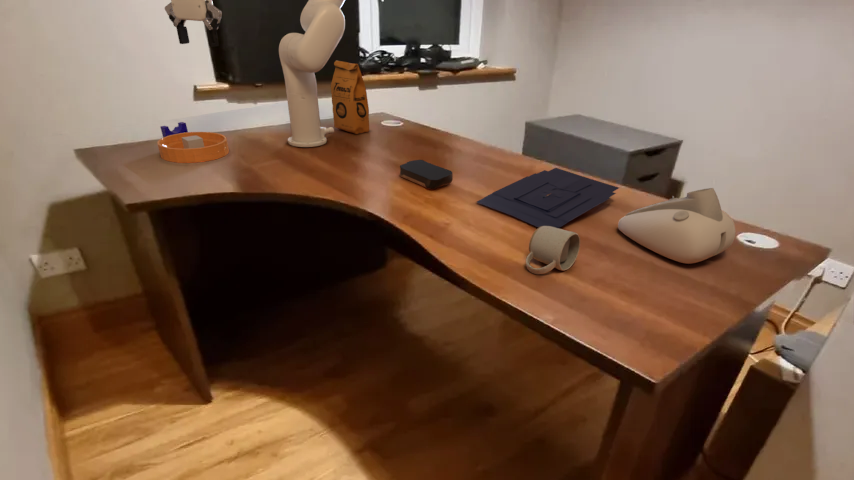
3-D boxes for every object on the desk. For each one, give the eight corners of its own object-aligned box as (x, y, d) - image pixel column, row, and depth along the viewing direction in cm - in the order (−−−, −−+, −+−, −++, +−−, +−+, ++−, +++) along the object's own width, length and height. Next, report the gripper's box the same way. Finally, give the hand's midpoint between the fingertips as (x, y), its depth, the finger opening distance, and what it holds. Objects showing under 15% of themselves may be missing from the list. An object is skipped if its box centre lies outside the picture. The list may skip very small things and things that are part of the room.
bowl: (212, 143, 173) (209, 128, 170) (240, 157, 162) (237, 141, 159) (151, 153, 162) (147, 138, 159) (176, 169, 151) (172, 153, 148)
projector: (708, 230, 126) (729, 168, 117) (742, 276, 107) (770, 206, 99) (613, 223, 128) (627, 162, 119) (630, 267, 109) (648, 198, 100)
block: (199, 150, 164) (196, 135, 162) (205, 153, 162) (202, 138, 159) (185, 152, 162) (181, 137, 159) (191, 156, 159) (187, 140, 156)
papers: (624, 199, 137) (626, 186, 135) (549, 243, 123) (551, 229, 120) (549, 175, 152) (550, 162, 150) (475, 211, 137) (474, 198, 135)
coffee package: (352, 136, 185) (348, 65, 172) (330, 129, 191) (324, 61, 179) (374, 131, 191) (371, 63, 178) (351, 124, 198) (347, 58, 185)
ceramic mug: (544, 251, 114) (549, 217, 109) (577, 263, 110) (584, 228, 105) (514, 268, 108) (518, 232, 103) (549, 282, 103) (555, 245, 99)
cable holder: (182, 133, 181) (179, 121, 179) (188, 135, 180) (185, 122, 177) (160, 138, 176) (157, 125, 173) (167, 140, 174) (164, 127, 172)
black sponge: (455, 186, 146) (456, 172, 144) (432, 192, 141) (432, 178, 139) (419, 170, 156) (419, 158, 154) (395, 176, 151) (395, 163, 149)
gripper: (223, -30, 137) (235, 46, 146) (168, -33, 141) (183, 41, 150) (203, -30, 131) (217, 49, 140) (146, -33, 135) (163, 43, 145)
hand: (199, 45), depth 145 cm, fingers open, 9 cm apart
